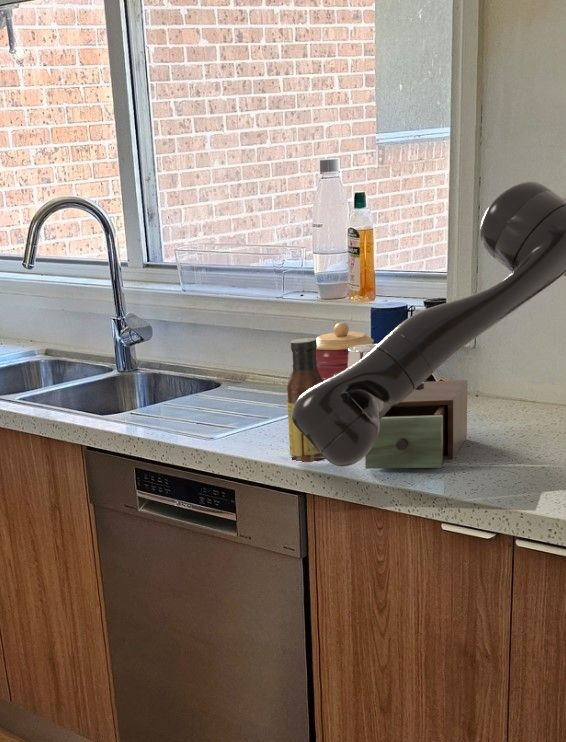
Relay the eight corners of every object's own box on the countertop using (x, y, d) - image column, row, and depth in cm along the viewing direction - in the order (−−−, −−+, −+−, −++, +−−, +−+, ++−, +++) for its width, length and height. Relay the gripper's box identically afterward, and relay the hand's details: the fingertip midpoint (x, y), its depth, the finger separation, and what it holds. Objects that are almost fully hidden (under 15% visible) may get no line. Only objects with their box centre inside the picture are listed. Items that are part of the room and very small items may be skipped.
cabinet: (452, 460, 191) (453, 399, 187) (371, 462, 197) (370, 402, 193) (466, 437, 203) (467, 379, 199) (389, 439, 208) (388, 383, 204)
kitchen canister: (298, 416, 231) (297, 321, 224) (367, 409, 231) (368, 314, 224) (313, 431, 220) (312, 331, 212) (385, 424, 219) (387, 323, 212)
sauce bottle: (333, 457, 203) (332, 335, 195) (321, 467, 198) (320, 342, 190) (295, 456, 207) (293, 336, 198) (282, 465, 202) (280, 343, 194)
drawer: (440, 469, 184) (440, 418, 181) (363, 470, 189) (362, 421, 186) (455, 445, 196) (455, 396, 193) (383, 446, 201) (382, 399, 198)
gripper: (415, 363, 156) (438, 339, 170) (313, 368, 162) (343, 344, 176) (416, 421, 159) (438, 393, 173) (315, 424, 165) (344, 396, 179)
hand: (390, 369), depth 174 cm, fingers closed
